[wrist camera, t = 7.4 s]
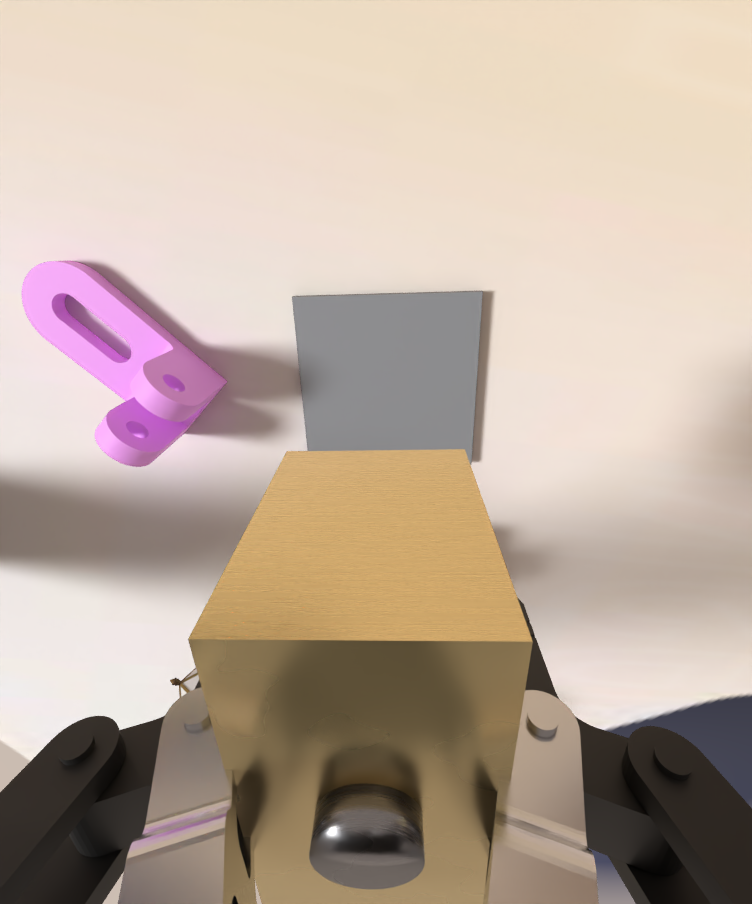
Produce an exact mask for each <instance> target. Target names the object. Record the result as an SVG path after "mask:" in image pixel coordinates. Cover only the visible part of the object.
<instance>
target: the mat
mask: <svg viewBox="0 0 752 904" xmlns="http://www.w3.org/2000/svg"><path fill="white" fill-rule="evenodd" d="M482 294H483V292H482V291H460V292H424V293H388V294H352V295H316V296H293V297H292V302H293V311H294V321H295V331H296V341H297V350H298V360H299V370H300V380H301V390H302V399H303V409H304V419H305V429H306V438H307V448H308V451H366V450H447V449H465V451H466V454H467V457H468V460H469V463H470V465H471V461H472V446H473V431H474V415H475V400H476V385H477V370H478V355H479V340H480V324H481V309H482Z"/></svg>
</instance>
